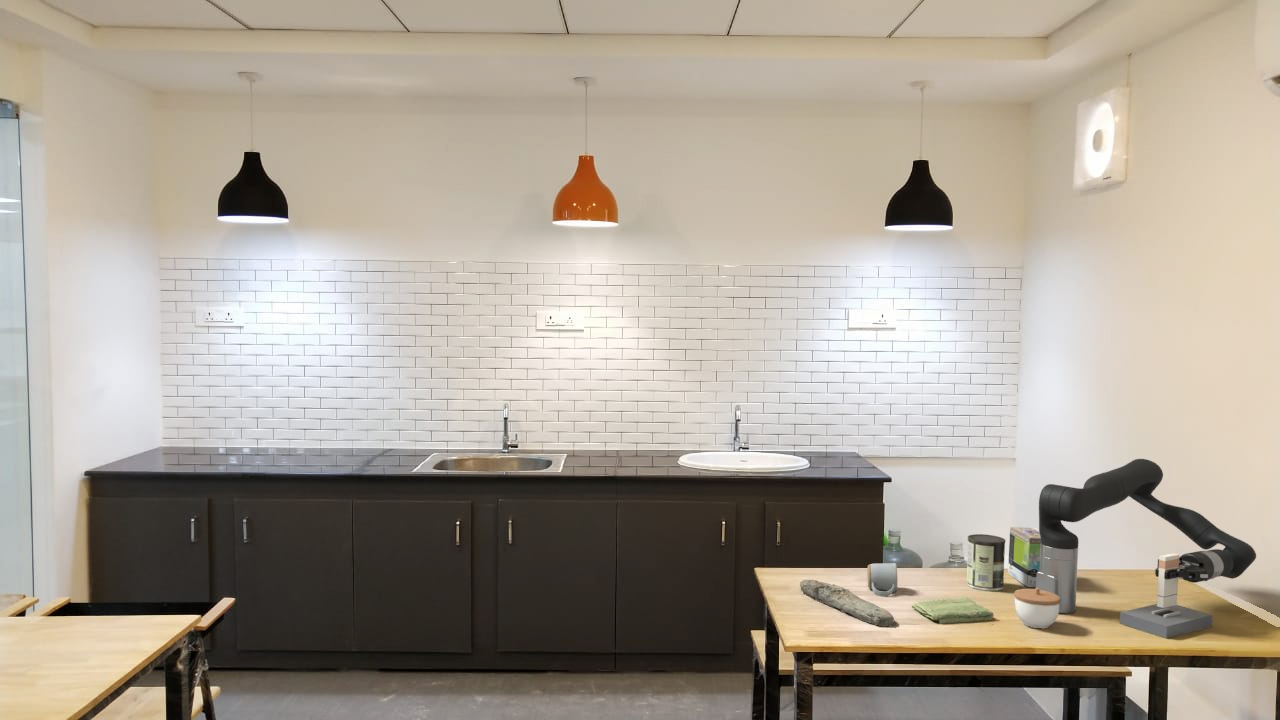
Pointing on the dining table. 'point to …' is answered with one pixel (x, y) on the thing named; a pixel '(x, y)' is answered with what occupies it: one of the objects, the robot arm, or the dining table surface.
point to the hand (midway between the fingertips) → (1161, 573)
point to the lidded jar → (1036, 607)
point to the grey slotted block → (1166, 620)
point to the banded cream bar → (1167, 581)
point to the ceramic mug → (882, 578)
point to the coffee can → (985, 562)
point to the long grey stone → (847, 602)
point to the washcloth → (953, 610)
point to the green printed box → (1024, 554)
